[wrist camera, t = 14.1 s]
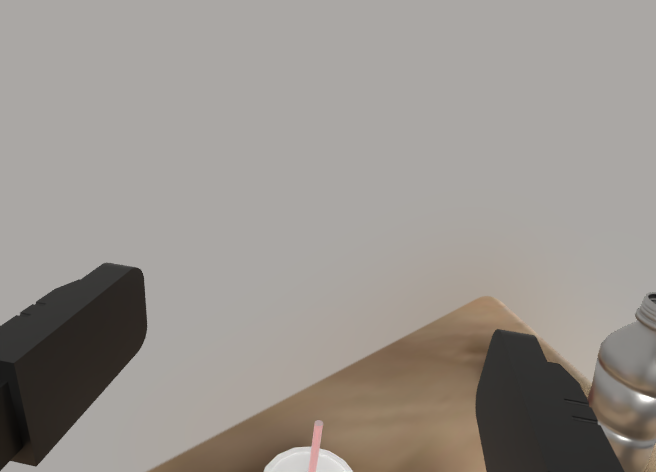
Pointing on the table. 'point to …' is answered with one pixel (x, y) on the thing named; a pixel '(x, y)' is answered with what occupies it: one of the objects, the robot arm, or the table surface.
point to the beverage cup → (308, 458)
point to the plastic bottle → (628, 388)
